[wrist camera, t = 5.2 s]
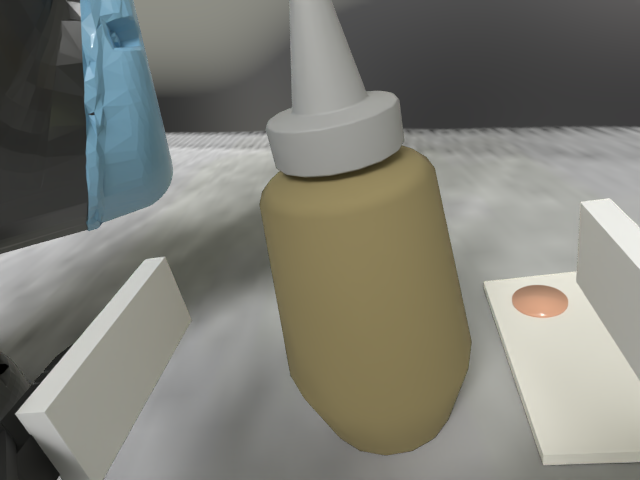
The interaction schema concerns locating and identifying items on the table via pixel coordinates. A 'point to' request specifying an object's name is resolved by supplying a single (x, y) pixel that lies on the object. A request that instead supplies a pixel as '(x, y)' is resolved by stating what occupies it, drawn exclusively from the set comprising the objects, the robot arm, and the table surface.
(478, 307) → the table surface
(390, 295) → the squeeze bottle
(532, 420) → the card
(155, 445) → the table surface
